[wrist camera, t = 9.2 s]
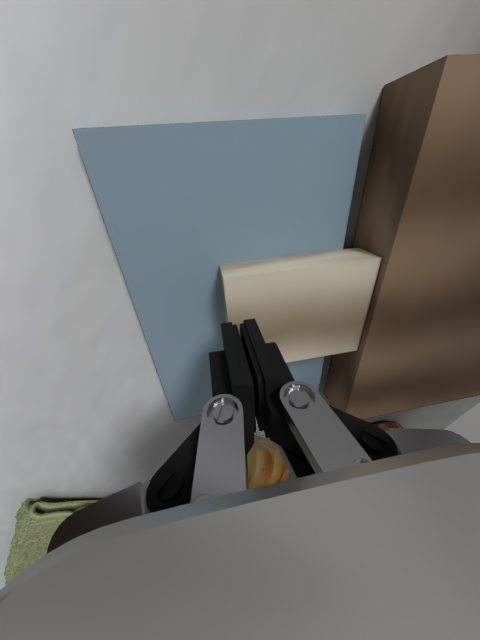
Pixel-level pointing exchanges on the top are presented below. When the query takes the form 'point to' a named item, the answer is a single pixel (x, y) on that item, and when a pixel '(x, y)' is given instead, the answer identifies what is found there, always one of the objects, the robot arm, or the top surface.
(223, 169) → the rubber mat
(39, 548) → the washcloth
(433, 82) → the walnut stand
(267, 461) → the pastry
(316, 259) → the birch tile
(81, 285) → the top surface
